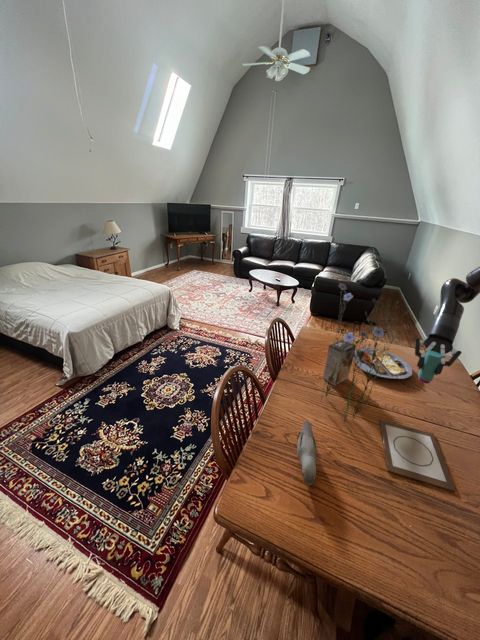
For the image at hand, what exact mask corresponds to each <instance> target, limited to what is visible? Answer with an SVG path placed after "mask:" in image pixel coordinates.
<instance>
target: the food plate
mask: <svg viewBox="0 0 480 640" xmlns="http://www.w3.org/2000/svg"><path fill="white" fill-rule="evenodd" d="M367 348H369V349H368V350H367ZM359 349H361V352H362V353H360V350H359ZM362 349H363V350H362ZM364 349H365V350H364ZM358 350H359V351H358ZM366 350H367V351H366ZM386 350H387V348H385V352H386V353H385V352H384V349H379V348H375V352H376V351H377V352H376V353H375V354H376V355H374V357H375V359H374V360H373V361H372V355H373V352H374V348H373V347H364V348H363V347H360V348H356V350H355V357H356V361H355V358H354V356H353V360H354V363H357V364H356V365H357V367H358V366H359V365H360V363H361V362H362V363H361V366H360V370H362V371H364V372H365V373H367V370H368V373H369V371H370V367H371V364H370V362H369V361H370V360H371V362H372V367H371V370H372V368H373V367H374V368H373V370H372V371H371V372H370V375H371V374H372V373H373V374H372V375H374V376H376V375H377V376H376V377H381V378H385V379H396V380H405V379H407V378H409V377H411V376H412V375H413V368H412V367H411V365H410V364H409V363H408V362H407V361H406V360H404V359H403V358H402V357H400V356H398V355H396V354H394V353H391V352H389V351H388V350H387V351H386ZM357 351H358V352H357ZM365 351H366V352H365ZM364 352H365V353H364ZM363 353H364V354H363ZM356 354H357V355H356ZM384 354H385V355H384ZM362 355H363V357H362V358H361V359H360V358H359V357H361V356H362ZM383 356H384V357H383ZM369 357H370V359H369ZM381 357H382V358H381ZM366 359H367V360H366ZM382 359H383V362H382V363H381V361H382ZM367 361H368V363H369V365H370V367H369V365H368V363H367ZM380 364H381V365H380ZM379 365H380V367H379ZM365 367H366V368H365ZM378 367H379V370H378ZM366 369H367V370H366ZM375 370H378V373H377V374H376V375H375ZM368 373H367V374H368Z"/></svg>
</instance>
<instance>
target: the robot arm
mask: <svg viewBox="0 0 480 640" xmlns="http://www.w3.org/2000/svg"><path fill="white" fill-rule="evenodd" d="M479 295H480V265H479V266H478V267H476V268H475V269H473V270H471V271H470V272H469V273H467V275H466V276H465V281H464V280H461V279H459V278H455V277H452V278H449V279H447V280H446V281H445V282H443V284H442V286H441V288H440V296H439V299H440V300H439V303H440V304H439V308H438V311H437V313H436V316H435V317H434V319H433V322H432V323H431V327H430V329H429V332H428V334H427V337H426V338H424V339H420V338H417V337H416V339H415V340H414V341H415V342H414V356H416V357H418V358H419V359H418V361H417V365H416V367H417V368H418V370H420V369H421V367H422V364H423V361H424V358H425V356H426V353H427V351H436V352H438V353H440V354H441V355H442V358H441V361H440V363H439V365H438V368H437V370H436V372H435V375H436V376H438V375H440V374H442V372H443V369H444V367H451V366H453V364H454V363H455V362H456V361H457V359H458V358H459V357H460V356H461V354H462V350H457V349H455V348H454V346H453V344H454V341H455V338H456V336H457V333H458V331H459V329H460V323H461V319H462V317H463V314H464V312H465V306H464V305H463V304H468V303H471V302H473V300H475V299H476V297H478V296H479ZM422 345H424V347H425V349H424V350H423V352H420V351H421V350H420V349H421V347H422ZM450 352H451V353H450ZM449 353H450V354H451V358H450V359H448V360H447V361H446V354H449ZM435 375H434V376H435Z"/></svg>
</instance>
